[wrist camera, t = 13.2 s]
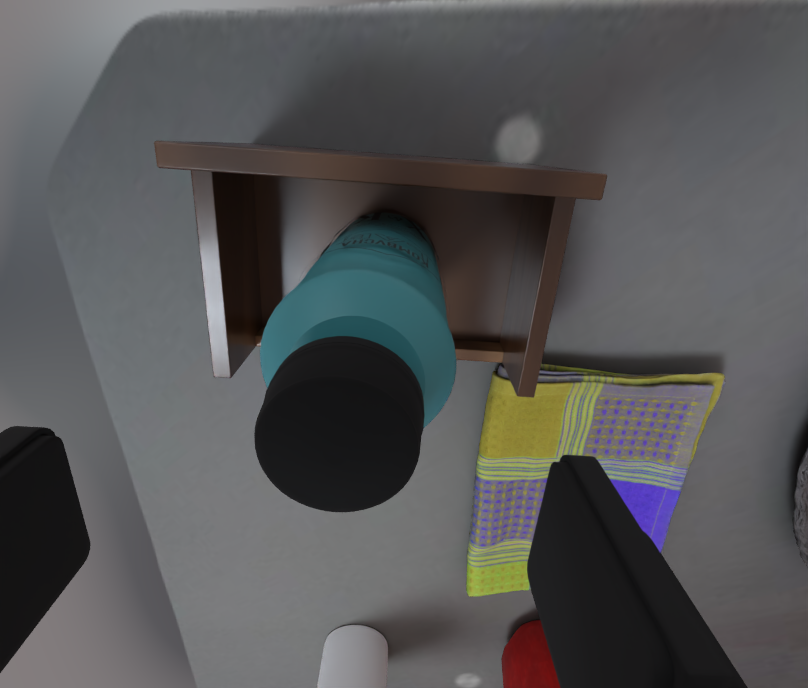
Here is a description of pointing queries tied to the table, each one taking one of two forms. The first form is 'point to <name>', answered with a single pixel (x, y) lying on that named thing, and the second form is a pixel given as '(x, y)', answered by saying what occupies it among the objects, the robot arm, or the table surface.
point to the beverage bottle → (355, 368)
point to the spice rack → (385, 190)
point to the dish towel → (579, 435)
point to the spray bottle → (354, 659)
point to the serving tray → (802, 508)
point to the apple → (528, 659)
